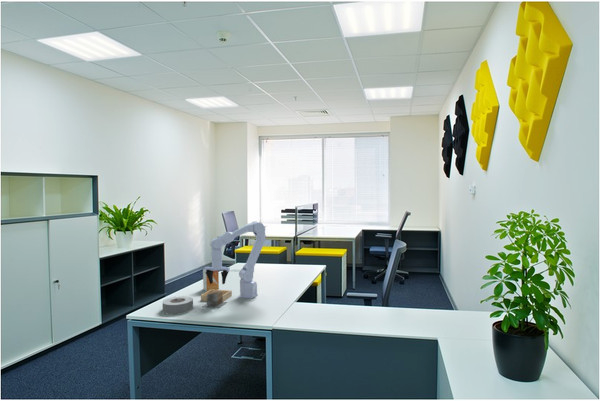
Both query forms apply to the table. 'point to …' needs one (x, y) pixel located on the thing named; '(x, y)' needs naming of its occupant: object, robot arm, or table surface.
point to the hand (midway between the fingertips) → (217, 283)
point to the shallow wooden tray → (225, 293)
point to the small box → (206, 283)
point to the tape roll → (177, 305)
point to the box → (214, 298)
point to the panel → (216, 306)
